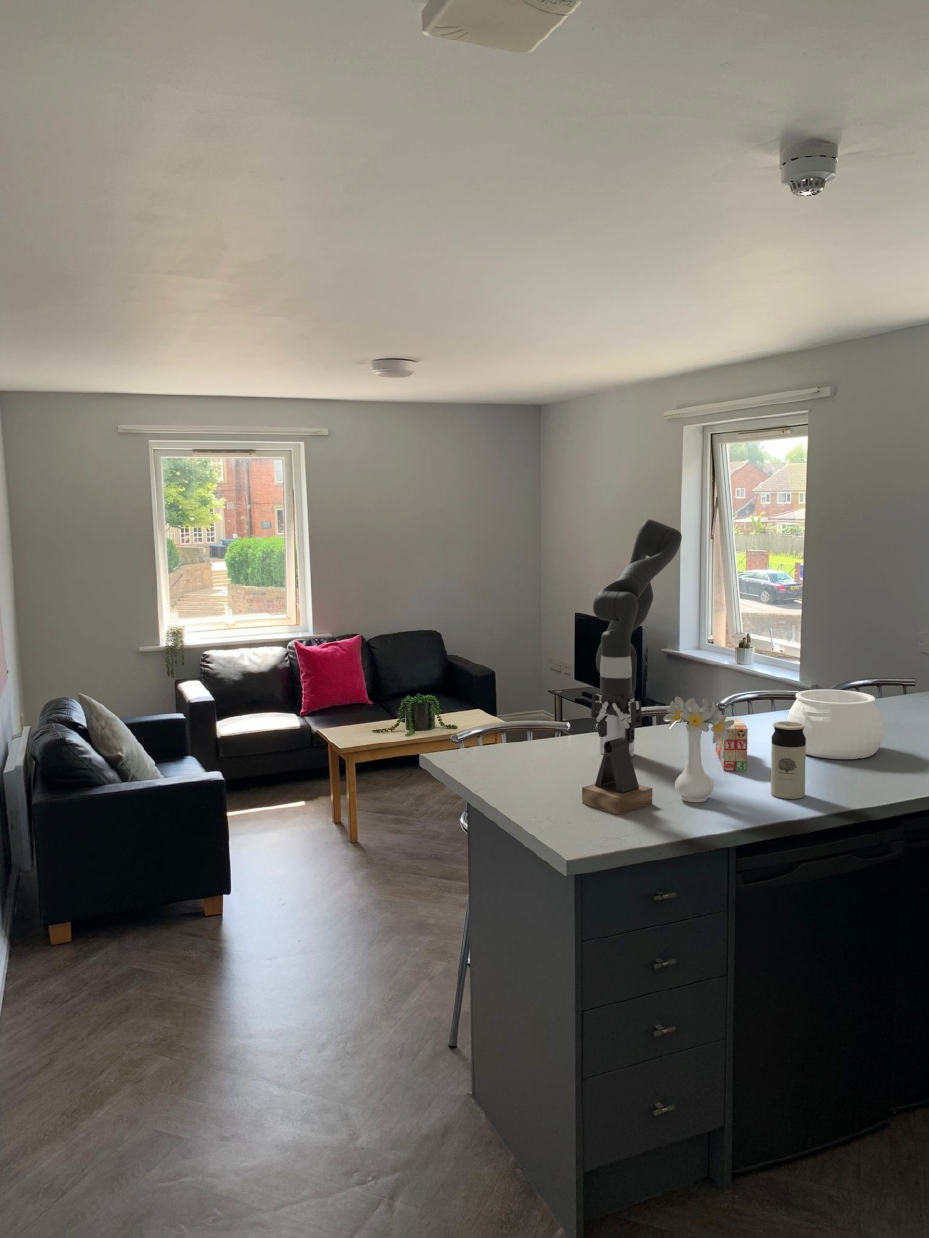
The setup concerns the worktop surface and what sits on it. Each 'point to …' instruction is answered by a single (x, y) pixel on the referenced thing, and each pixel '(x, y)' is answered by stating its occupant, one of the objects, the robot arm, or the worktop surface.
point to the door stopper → (617, 768)
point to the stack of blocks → (733, 747)
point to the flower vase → (696, 745)
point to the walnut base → (617, 799)
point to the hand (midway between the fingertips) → (615, 739)
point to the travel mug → (788, 760)
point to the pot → (838, 723)
